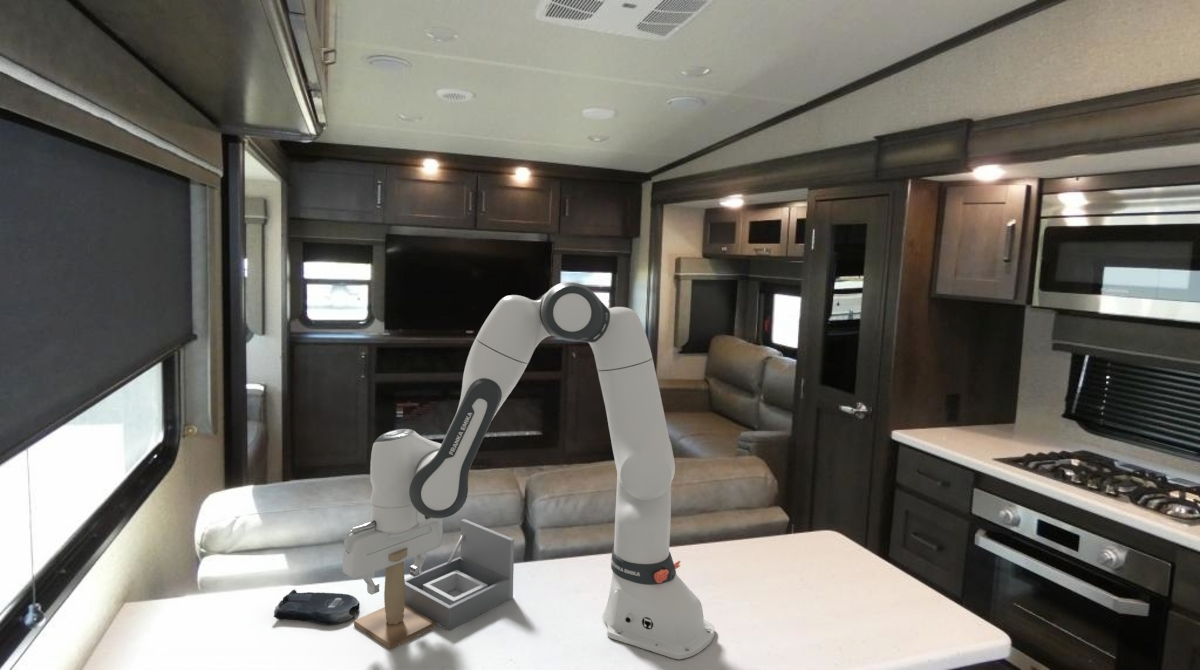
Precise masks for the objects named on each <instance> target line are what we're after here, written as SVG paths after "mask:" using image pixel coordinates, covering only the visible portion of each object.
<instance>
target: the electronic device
mask: <svg viewBox="0 0 1200 670" xmlns="http://www.w3.org/2000/svg"><path fill="white" fill-rule="evenodd" d="M360 606H361V605H360V601H359V600H358V598H356V597H355V596H353V595H351V594H349V593H348V594H346V593H339V592H338V593H337V592H336V593H335V592H311V591H309V592H307V591H306V592H297V590H296V589H295V588H294V589H292V590H291V591H290V592H289V593H288V594H286V595H285V596H283V597H282V600H279V603H278V604H277V605H276V606H275V609H274V610H273V613H274V614H273V618H275V619H276V620H278V619H279V620H283V621H284V620H286V621H296V620H297V622H298V621H300V622H314V623H317V624H322V625H323V624H325V625H329V626H330V625H338V624H342V623H345V622H347V621H349V620H351V619H352V618H354V619H357V615H358V613H359V611H360ZM352 608H354V610H355V614H353V615H351V614H350V611H351V609H352Z"/></svg>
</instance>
